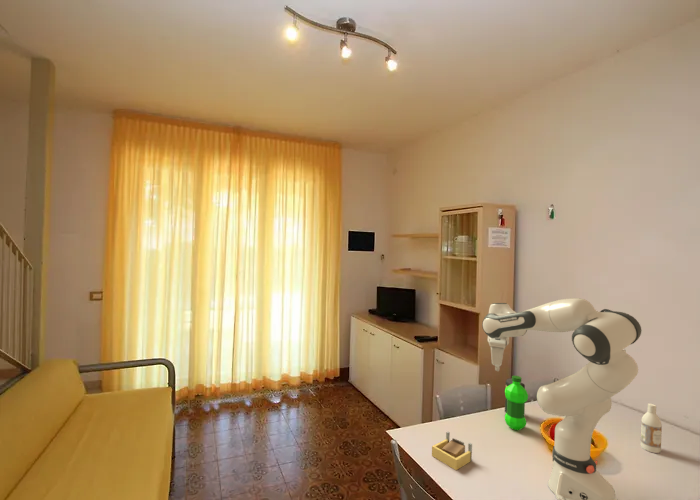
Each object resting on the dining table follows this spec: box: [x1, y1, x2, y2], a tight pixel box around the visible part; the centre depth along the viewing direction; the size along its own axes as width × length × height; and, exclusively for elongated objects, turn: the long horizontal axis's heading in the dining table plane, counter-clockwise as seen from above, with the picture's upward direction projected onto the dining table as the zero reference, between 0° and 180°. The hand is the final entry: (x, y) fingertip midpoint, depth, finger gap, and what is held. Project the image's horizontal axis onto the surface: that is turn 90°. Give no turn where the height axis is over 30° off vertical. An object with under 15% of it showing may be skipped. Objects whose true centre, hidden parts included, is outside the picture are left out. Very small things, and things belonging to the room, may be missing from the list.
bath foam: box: [640, 402, 663, 454], centre depth 158 cm, size 7×7×20 cm
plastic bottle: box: [504, 375, 529, 431], centre depth 174 cm, size 10×10×25 cm
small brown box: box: [442, 438, 466, 458], centre depth 148 cm, size 6×9×5 cm, turn 138°
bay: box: [431, 431, 473, 471], centre depth 147 cm, size 12×11×7 cm
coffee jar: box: [504, 377, 526, 414], centre depth 188 cm, size 10×8×19 cm
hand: (497, 369), depth 157 cm, fingers closed
